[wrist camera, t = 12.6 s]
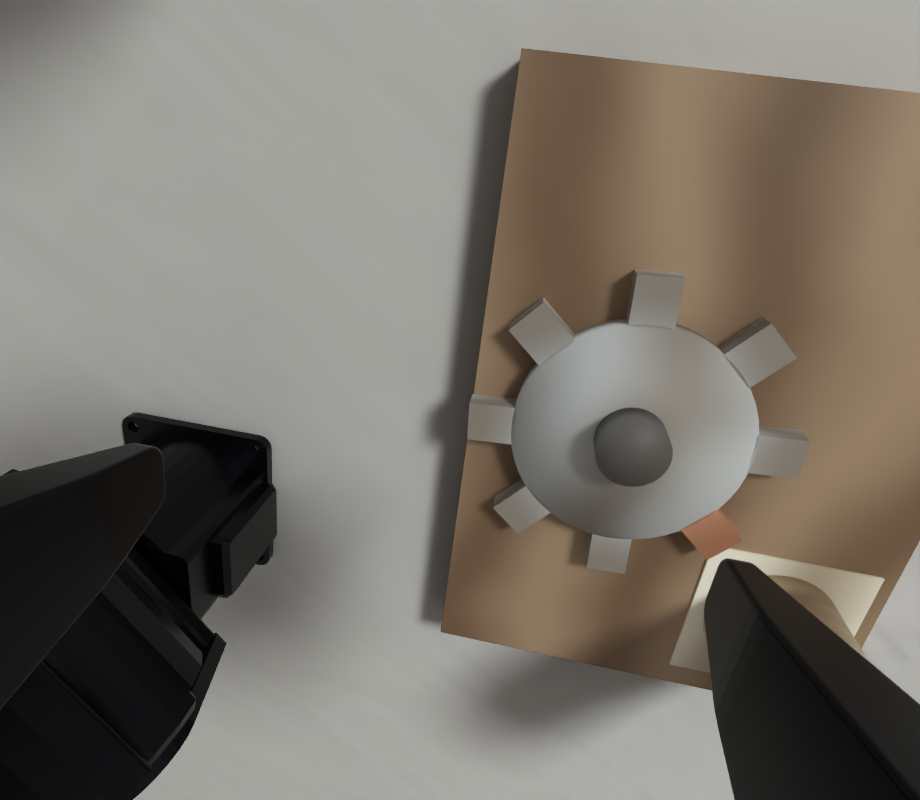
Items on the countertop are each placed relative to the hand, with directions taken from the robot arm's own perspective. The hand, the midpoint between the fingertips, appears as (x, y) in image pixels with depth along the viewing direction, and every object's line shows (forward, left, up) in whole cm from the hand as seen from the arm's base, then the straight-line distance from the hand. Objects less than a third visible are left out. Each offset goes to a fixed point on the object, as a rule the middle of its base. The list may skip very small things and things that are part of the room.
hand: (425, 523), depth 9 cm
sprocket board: (+7, -3, -13) cm, 15 cm away
